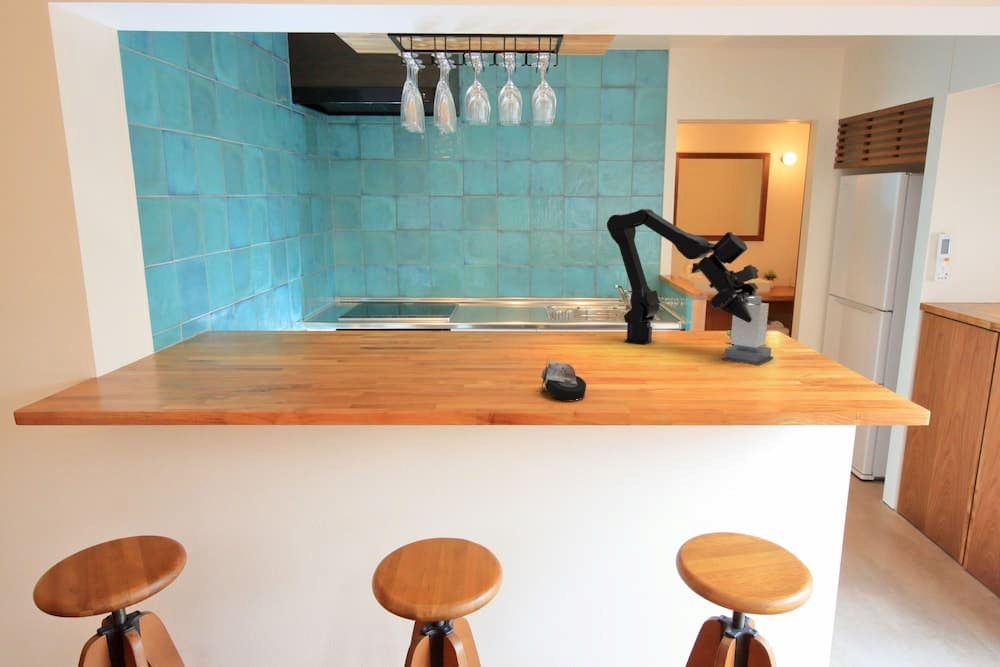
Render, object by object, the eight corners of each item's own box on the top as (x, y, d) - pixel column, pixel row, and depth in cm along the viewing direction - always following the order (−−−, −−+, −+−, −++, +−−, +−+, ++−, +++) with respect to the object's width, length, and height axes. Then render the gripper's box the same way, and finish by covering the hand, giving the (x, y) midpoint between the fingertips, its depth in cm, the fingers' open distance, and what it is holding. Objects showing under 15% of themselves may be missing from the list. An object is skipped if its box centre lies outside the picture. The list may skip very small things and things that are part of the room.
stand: (721, 359, 173) (722, 348, 172) (736, 353, 180) (737, 342, 180) (758, 365, 166) (759, 354, 166) (773, 358, 174) (773, 347, 173)
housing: (730, 343, 173) (734, 295, 170) (739, 340, 177) (743, 293, 174) (756, 347, 168) (760, 298, 165) (765, 344, 172) (769, 296, 170)
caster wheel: (582, 412, 138) (536, 404, 139) (584, 387, 148) (541, 380, 149) (587, 385, 135) (540, 377, 136) (589, 362, 145) (545, 354, 146)
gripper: (725, 257, 164) (765, 305, 159) (753, 253, 177) (791, 297, 172) (694, 285, 171) (731, 332, 165) (724, 279, 184) (759, 322, 179)
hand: (754, 319), depth 170 cm, fingers closed on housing, 6 cm apart
